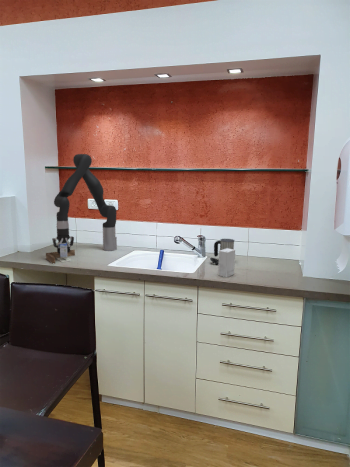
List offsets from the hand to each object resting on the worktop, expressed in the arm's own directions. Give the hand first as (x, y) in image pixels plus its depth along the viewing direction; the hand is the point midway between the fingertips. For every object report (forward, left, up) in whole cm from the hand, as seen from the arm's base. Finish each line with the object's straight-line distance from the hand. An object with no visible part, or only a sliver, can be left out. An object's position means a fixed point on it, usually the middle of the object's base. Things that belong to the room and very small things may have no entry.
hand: (63, 252), depth 228 cm
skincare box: (-64, +86, -5) cm, 107 cm away
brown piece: (0, -1, -5) cm, 5 cm away
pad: (0, 0, -5) cm, 5 cm away
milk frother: (-81, +65, -5) cm, 104 cm away
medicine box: (0, 0, -2) cm, 2 cm away
